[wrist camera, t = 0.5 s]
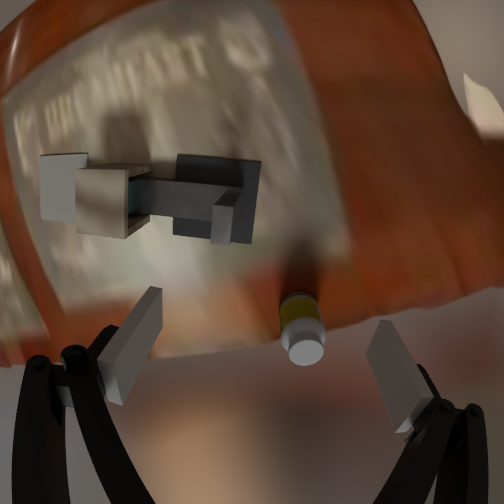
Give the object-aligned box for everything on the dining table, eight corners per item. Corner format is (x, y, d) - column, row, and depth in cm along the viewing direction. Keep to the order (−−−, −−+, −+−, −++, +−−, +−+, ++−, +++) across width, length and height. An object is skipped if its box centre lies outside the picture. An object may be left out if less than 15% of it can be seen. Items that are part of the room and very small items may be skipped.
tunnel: (107, 163, 39) (75, 169, 31) (151, 164, 39) (125, 170, 31) (106, 217, 42) (77, 232, 34) (149, 221, 42) (124, 239, 34)
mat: (40, 156, 39) (39, 156, 39) (88, 153, 39) (87, 153, 38) (42, 219, 43) (41, 219, 43) (88, 224, 43) (87, 224, 43)
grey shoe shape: (177, 155, 39) (177, 155, 38) (261, 162, 39) (260, 162, 38) (173, 234, 43) (172, 234, 43) (251, 243, 43) (251, 244, 43)
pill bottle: (276, 293, 46) (278, 337, 35) (316, 287, 45) (329, 330, 34) (281, 326, 48) (284, 373, 37) (318, 320, 47) (330, 366, 36)
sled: (85, 175, 39) (35, 188, 28) (243, 185, 39) (233, 202, 28) (85, 205, 41) (38, 225, 30) (239, 220, 41) (229, 250, 29)
